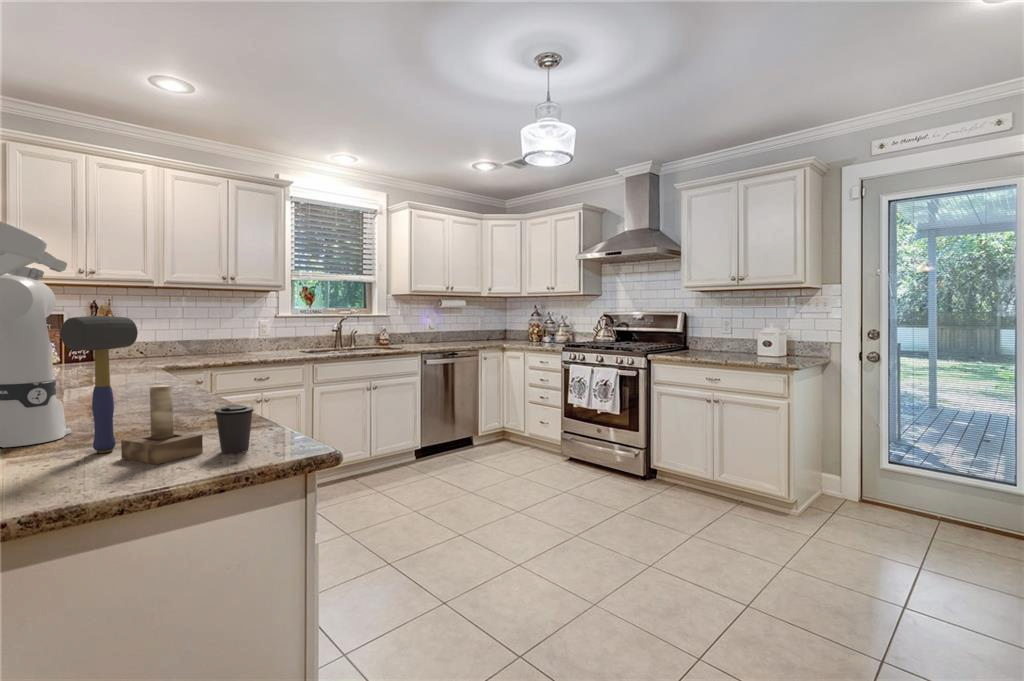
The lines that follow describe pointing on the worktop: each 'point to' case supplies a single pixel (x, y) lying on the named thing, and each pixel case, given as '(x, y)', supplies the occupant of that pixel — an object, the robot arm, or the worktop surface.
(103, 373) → the rubber mallet
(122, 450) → the walnut socket board
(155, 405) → the beech peg
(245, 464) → the worktop surface
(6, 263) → the robot arm
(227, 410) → the coffee cup
